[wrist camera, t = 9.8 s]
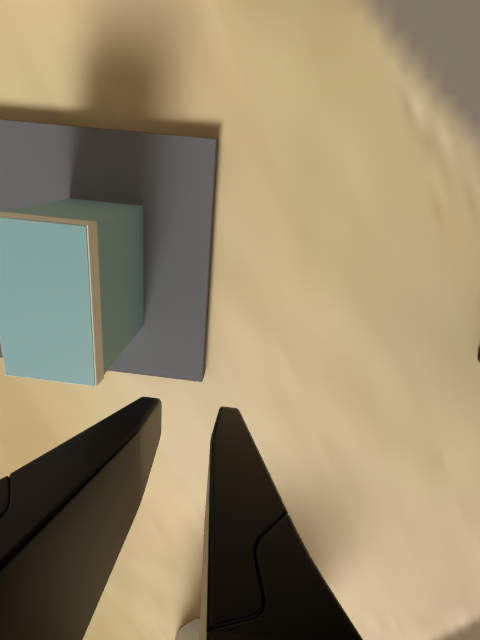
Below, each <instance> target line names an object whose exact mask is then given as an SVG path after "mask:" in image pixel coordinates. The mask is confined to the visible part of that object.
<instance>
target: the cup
mask: <svg viewBox="0 0 480 640" xmlns="http://www.w3.org/2000/svg"><path fill="white" fill-rule="evenodd" d="M199 630H200V618H198V619H195V620H193V621H191V622H189V623H187V624H185V625H184V626H183V627H182V628H181V629H180V630H179V631H178V633H177V635H176V637H175V640H199Z"/></svg>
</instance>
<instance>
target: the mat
mask: <svg viewBox="0 0 480 640" xmlns="http://www.w3.org/2000/svg"><path fill="white" fill-rule="evenodd" d="M217 146H218V140H217V139H208V138H197V137H186V136H175V135H164V134H153V133H142V132H131V131H120V130H109V129H98V128H87V127H76V126H65V125H54V124H43V123H32V122H21V121H10V120H0V212H3V211H8V210H13V209H18V208H23V207H28V206H33V205H38V204H43V203H48V202H53V201H58V200H63V199H68V198H71V199H81V200H91V201H101V202H110V203H120V204H130V205H140V206H143V292H144V326H143V327H142V328H141V329H140V331H139V332H138V333H137V334H136V335H135V337H134V338H133V339H132V340H131V342H130V343H129V344H128V345H127V347H126V348H125V349H124V350H123V352H122V353H121V354H120V355H119V357H118V358H117V359H116V360H115V362H114V363H113V364H112V365H111V367H110V368H109V369H108V371H117V372H125V373H133V374H141V375H149V376H158V377H166V378H174V379H182V380H191V381H199V382H202V380H203V377H204V366H205V349H206V332H207V315H208V298H209V281H210V264H211V247H212V230H213V214H214V197H215V180H216V163H217ZM0 357H2V358H3V355H2V348H1V342H0Z"/></svg>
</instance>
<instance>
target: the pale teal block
mask: <svg viewBox="0 0 480 640" xmlns="http://www.w3.org/2000/svg"><path fill="white" fill-rule="evenodd" d="M143 326H144V292H143V206H140V205H130V204H120V203H110V202H101V201H91V200H81V199H71V198H68V199H63V200H58V201H53V202H48V203H43V204H38V205H33V206H28V207H23V208H18V209H13V210H8V211H3V212H0V342H1V348H2V355H3V361H4V368H5V375H8V376H16V377H24V378H32V379H39V380H47V381H55V382H63V383H71V384H79V385H87V386H95V387H97V386H98V384H99V383H100V382H101V381H102V379H103V378H104V374H105V373H106V371H107V370H108V369H109V368H110V367H111V365H112V364H113V363H114V362H115V360H116V359H117V358H118V357H119V355H120V354H121V353H122V352H123V350H124V349H125V348H126V347H127V345H128V344H129V343H130V342H131V340H132V339H133V338H134V337H135V335H136V334H137V333H138V332H139V331H140V329H141V328H142V327H143Z"/></svg>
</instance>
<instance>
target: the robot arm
mask: <svg viewBox="0 0 480 640" xmlns="http://www.w3.org/2000/svg"><path fill="white" fill-rule="evenodd" d="M478 361H479V362H480V350H479V353H478ZM161 409H162V405H161V401H160V399H158V398H150V397H141V398H139V399H138V400H136V401H134V402H132V403H131V404H129V405H127V406H126V407H124V408H122V409H120V410H119V411H117V412H115V413H114V414H112V415H110V416H109V417H107V418H105V419H103V420H102V421H100V422H98V423H97V424H95V425H93V426H91V427H90V428H88V429H86V430H85V431H83V432H81V433H79V434H78V435H76V436H74V437H73V438H71V439H69V440H67V441H66V442H64V443H62V444H61V445H59V446H57V447H55V448H54V449H52V450H50V451H49V452H47V453H45V454H43V455H42V456H40V457H38V458H37V459H35V460H33V461H31V462H30V463H28V464H26V465H25V466H23V467H21V468H19V469H18V470H16V471H14V472H13V473H11V474H10V476H9V477H8V476H6V477H4V478H2V479H0V640H82V639H83V637H84V635H85V632H86V630H87V628H88V625H89V623H90V621H91V618H92V616H93V614H94V611H95V609H96V607H97V604H98V602H99V600H100V597H101V595H102V593H103V590H104V588H105V586H106V583H107V581H108V579H109V576H110V574H111V572H112V569H113V567H114V565H115V562H116V560H117V558H118V555H119V553H120V551H121V548H122V546H123V544H124V541H125V539H126V537H127V534H128V532H129V530H130V527H131V525H132V523H133V520H134V518H135V516H136V513H137V511H138V508H139V506H140V503H141V500H142V497H143V494H144V491H145V488H146V484H147V481H148V478H149V474H150V471H151V467H152V464H153V461H154V457H155V454H156V450H157V447H158V444H159V440H160V435H161ZM199 640H363V639H362V637H361V636H360V634H359V633H358V631H357V630H356V628H355V627H354V625H353V624H352V622H351V620H350V619H349V617H348V616H347V614H346V613H345V611H344V610H343V608H342V606H341V605H340V603H339V602H338V600H337V599H336V597H335V596H334V594H333V592H332V591H331V589H330V588H329V586H328V585H327V583H326V581H325V580H324V578H323V577H322V575H321V573H320V572H319V570H318V568H317V567H316V565H315V563H314V562H313V560H312V558H311V557H310V555H309V553H308V551H307V549H306V547H305V546H304V544H303V542H302V540H301V538H300V536H299V534H298V532H297V530H296V528H295V526H294V524H293V522H292V520H291V517H290V516H289V515H288V512H287V510H286V507H285V505H284V503H283V501H282V499H281V497H280V495H279V493H278V491H277V489H276V486H275V484H274V482H273V480H272V478H271V476H270V474H269V472H268V470H267V468H266V466H265V463H264V461H263V459H262V457H261V455H260V453H259V451H258V449H257V447H256V445H255V442H254V440H253V438H252V436H251V434H250V432H249V430H248V428H247V426H246V424H245V422H244V419H243V417H242V415H241V413H240V411H239V410H238V409H237V408H230V407H220V409H219V412H218V415H217V419H216V422H215V425H214V429H213V432H212V436H211V441H210V454H209V468H208V482H207V496H206V510H205V525H204V546H203V567H202V588H201V609H200V630H199Z"/></svg>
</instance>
